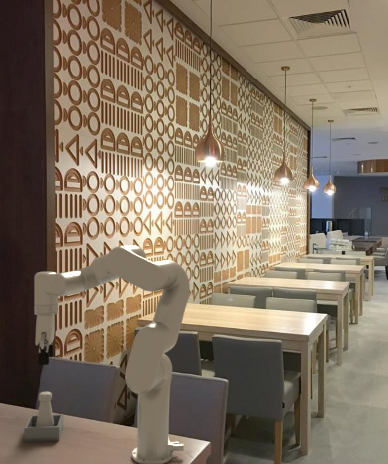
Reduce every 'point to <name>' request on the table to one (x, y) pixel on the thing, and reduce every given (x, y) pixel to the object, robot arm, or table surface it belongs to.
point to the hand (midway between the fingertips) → (46, 360)
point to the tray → (43, 430)
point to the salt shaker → (45, 410)
